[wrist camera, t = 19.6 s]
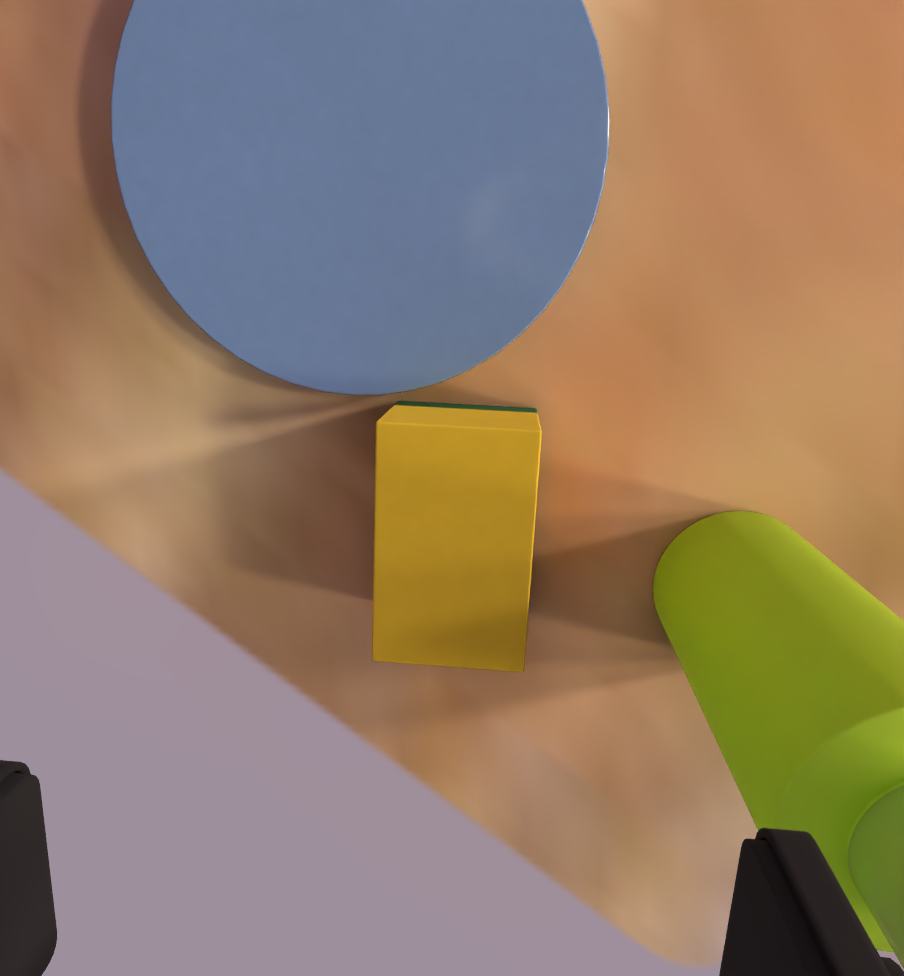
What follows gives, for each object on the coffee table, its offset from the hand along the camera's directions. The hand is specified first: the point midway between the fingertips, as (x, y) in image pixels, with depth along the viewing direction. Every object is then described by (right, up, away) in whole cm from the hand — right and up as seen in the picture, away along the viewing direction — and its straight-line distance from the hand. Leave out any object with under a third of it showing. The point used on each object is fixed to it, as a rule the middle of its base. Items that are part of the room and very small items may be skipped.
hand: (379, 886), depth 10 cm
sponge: (+1, +4, +18) cm, 18 cm away
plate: (-2, +16, +15) cm, 22 cm away
